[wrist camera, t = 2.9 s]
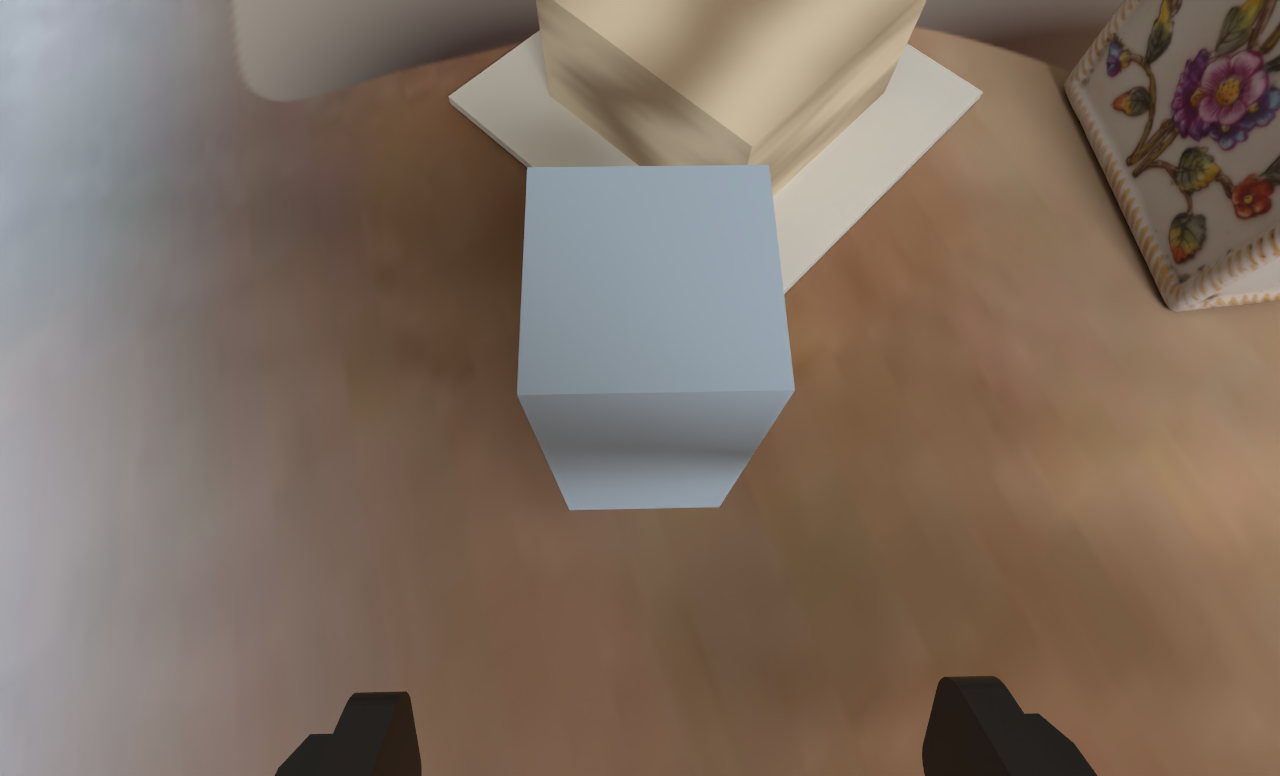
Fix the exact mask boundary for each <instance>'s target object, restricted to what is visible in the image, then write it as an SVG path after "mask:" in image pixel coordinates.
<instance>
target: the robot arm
mask: <svg viewBox="0 0 1280 776" xmlns="http://www.w3.org/2000/svg"><path fill="white" fill-rule="evenodd" d="M922 760H923V768H924V773H925V776H1097V775H1096V773H1095V772H1094V770H1093V769H1092V768H1091V766H1090V765H1089V764H1088V762H1087V761H1086V759H1085V758H1084V757H1083V755H1082V754H1081V752H1080V751H1079V750H1078V748H1077V747H1076V746H1075V744H1074V743H1073V742H1071V741H1070V740H1069V739H1068V738H1067V737H1066V736H1064V735H1063V734H1062V733H1061V732H1060V731H1058V730H1057V729H1056V728H1055V727H1054V726H1053V725H1051V724H1050V723H1049V722H1048V721H1047V720H1046V719H1044V718H1043V717H1042V716H1041V715H1040V714H1038V713H1037V714H1024V713H1023V711H1022V710H1021V708H1020V707H1019V705H1018V704H1017V702H1016V701H1015V699H1014V698H1013V696H1012V695H1011V693H1010V692H1009V690H1008V689H1007V688H1006V686H1005V685H1004V684H1003V683H1002V682H1001V681H1000V680H999V679H998V678H996V677H994V676H969V677H944V678H942V679H941V680H940V681H939V683H938V686H937V690H936V694H935V698H934V702H933V706H932V710H931V714H930V719H929V723H928V727H927V731H926V735H925V739H924V743H923V749H922ZM275 776H421V759H420V753H419V747H418V741H417V735H416V729H415V723H414V717H413V711H412V705H411V700H410V696H409V694H408V693H407V692H369V693H354V694H353V695H352V696H351V697H350V698H349V700H348V702H347V704H346V706H345V708H344V710H343V712H342V715H341V717H340V719H339V721H338V724H337V726H336V728H335V730H334V733H333V734H310V735H309V736H308V737H307V738H306V739H305V740H304V742H303V743H302V744H301V745H300V746H299V747H298V748H297V749H296V750H295V751H294V752H293V753H292V754H291V755H290V756H289V758H288V759H287V760H286V761H285V762H284V763H283V764H282V765H281V766H280V767H279V768H278V770H277V772H276V774H275Z"/></svg>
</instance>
